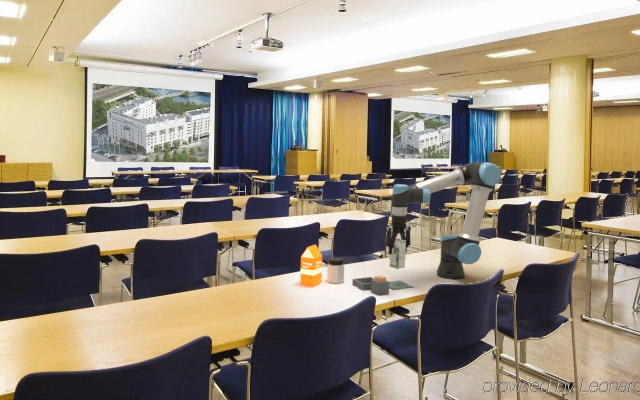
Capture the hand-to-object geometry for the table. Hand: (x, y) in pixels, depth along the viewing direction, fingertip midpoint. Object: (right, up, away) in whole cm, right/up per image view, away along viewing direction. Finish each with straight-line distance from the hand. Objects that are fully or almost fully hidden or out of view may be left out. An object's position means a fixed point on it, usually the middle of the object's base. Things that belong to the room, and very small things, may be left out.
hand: (397, 259), depth 246 cm
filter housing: (-13, -14, -6) cm, 20 cm away
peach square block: (-10, -11, -13) cm, 19 cm away
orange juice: (-44, -13, +1) cm, 46 cm away
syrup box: (0, -4, 0) cm, 4 cm away
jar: (-31, -12, +7) cm, 34 cm away
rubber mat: (0, -13, +1) cm, 13 cm away
